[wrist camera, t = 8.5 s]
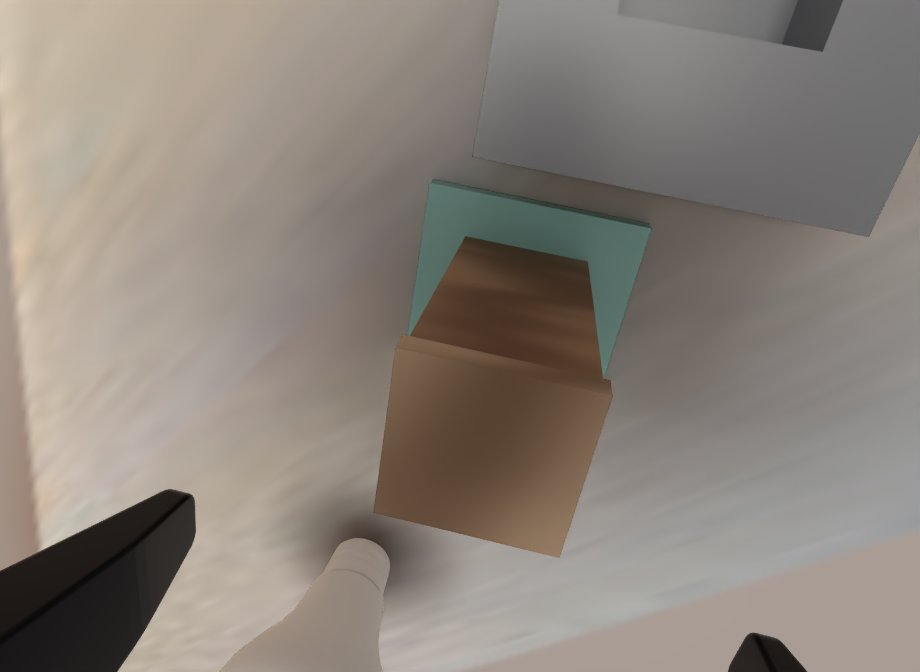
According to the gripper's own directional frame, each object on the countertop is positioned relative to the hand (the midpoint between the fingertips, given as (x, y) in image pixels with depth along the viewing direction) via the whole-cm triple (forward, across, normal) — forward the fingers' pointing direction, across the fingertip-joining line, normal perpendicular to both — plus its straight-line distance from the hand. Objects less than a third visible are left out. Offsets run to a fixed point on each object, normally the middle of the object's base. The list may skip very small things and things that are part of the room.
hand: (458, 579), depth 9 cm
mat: (+12, 0, 0) cm, 12 cm away
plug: (+12, 0, 0) cm, 12 cm away
